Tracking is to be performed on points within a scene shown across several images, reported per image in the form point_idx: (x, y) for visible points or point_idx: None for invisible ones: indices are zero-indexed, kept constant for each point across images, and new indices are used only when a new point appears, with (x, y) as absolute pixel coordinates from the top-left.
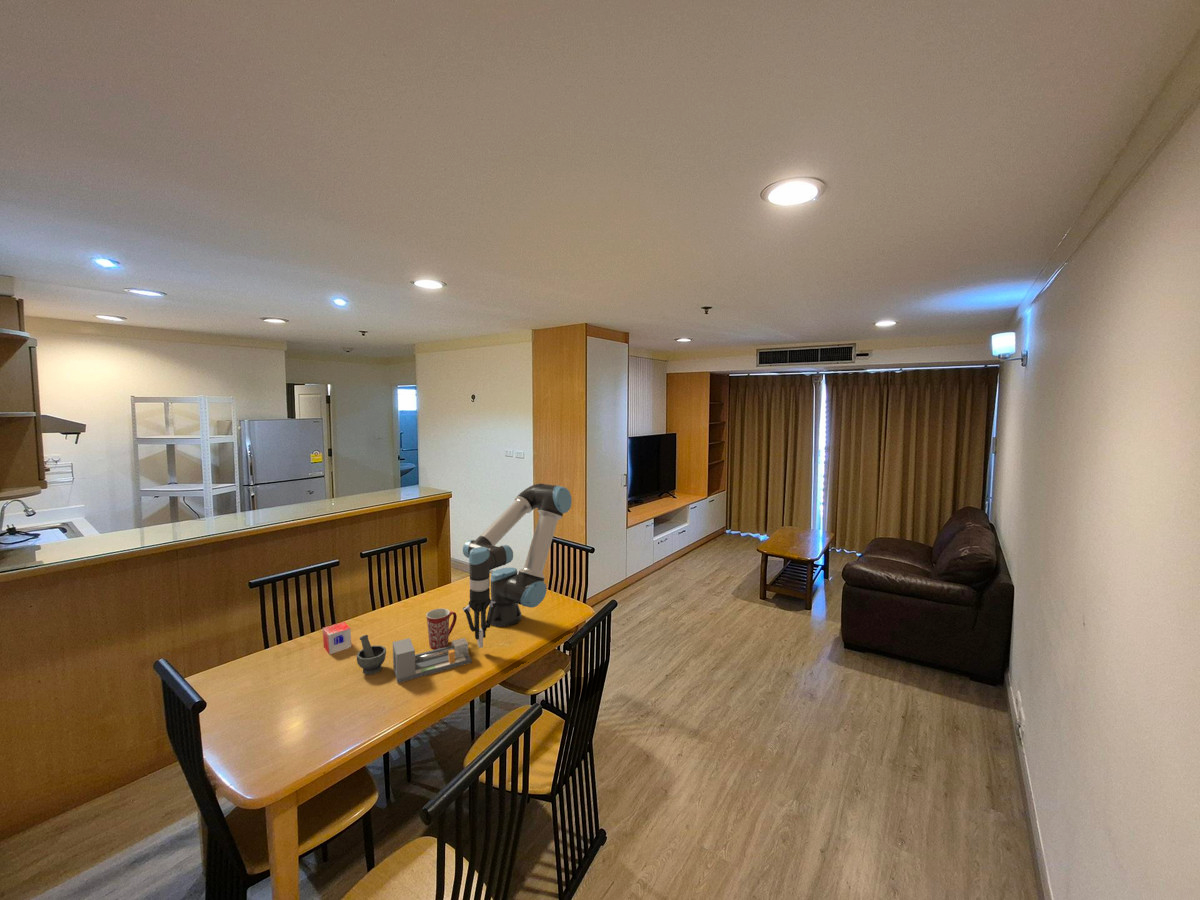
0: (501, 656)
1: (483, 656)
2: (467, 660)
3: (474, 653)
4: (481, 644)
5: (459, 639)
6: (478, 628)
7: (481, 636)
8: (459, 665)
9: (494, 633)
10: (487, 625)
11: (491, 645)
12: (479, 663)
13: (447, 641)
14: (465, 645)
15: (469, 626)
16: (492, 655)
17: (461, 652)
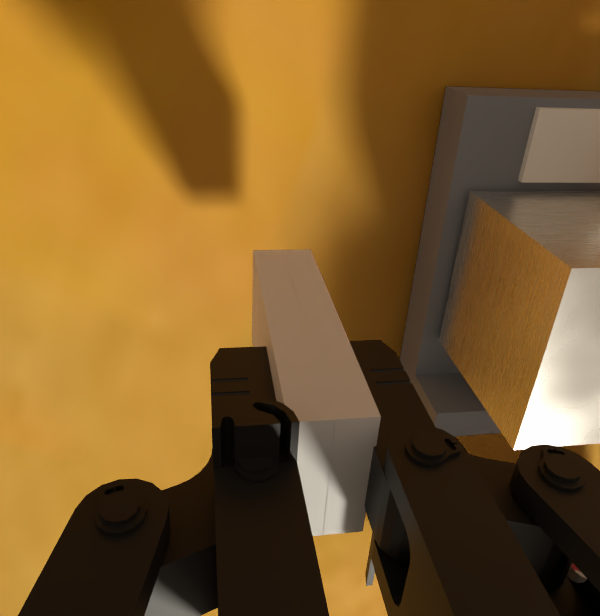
0: (8, 14)
1: (258, 160)
2: (517, 97)
3: (328, 279)
4: (286, 271)
5: (591, 431)
6: (428, 494)
7: (307, 349)
8: (595, 91)
9: (10, 547)
10: (159, 543)
11: (94, 355)
12: (367, 6)
13: None
14: (597, 255)
15: (592, 604)
16: (138, 121)
17: (597, 215)
